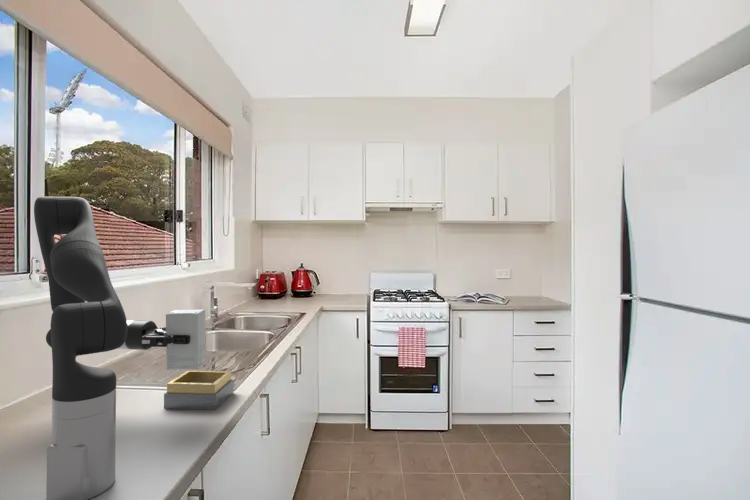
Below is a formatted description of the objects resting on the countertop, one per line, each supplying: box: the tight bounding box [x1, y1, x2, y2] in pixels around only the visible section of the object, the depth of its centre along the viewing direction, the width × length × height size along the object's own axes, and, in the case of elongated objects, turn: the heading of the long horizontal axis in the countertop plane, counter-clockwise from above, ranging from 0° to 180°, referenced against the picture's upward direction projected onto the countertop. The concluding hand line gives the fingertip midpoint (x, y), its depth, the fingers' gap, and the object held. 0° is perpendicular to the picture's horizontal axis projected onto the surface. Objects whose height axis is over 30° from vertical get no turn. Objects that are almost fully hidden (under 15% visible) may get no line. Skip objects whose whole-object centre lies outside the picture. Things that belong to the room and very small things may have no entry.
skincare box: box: [165, 308, 207, 371], centre depth 102 cm, size 8×6×15 cm
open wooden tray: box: [163, 370, 234, 411], centre depth 111 cm, size 15×14×6 cm
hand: (195, 336), depth 102 cm, fingers closed on skincare box, 6 cm apart
